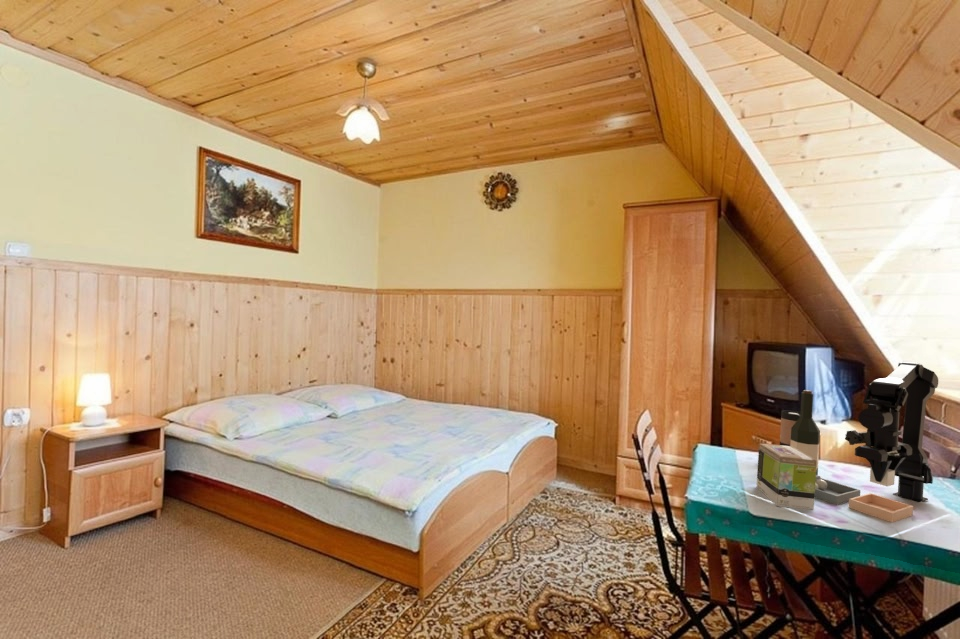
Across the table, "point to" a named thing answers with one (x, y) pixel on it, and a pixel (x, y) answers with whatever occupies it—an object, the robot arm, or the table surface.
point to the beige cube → (884, 478)
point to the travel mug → (787, 425)
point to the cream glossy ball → (821, 484)
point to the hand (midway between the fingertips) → (882, 480)
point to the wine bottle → (806, 429)
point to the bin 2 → (881, 507)
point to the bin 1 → (836, 492)
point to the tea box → (786, 476)
